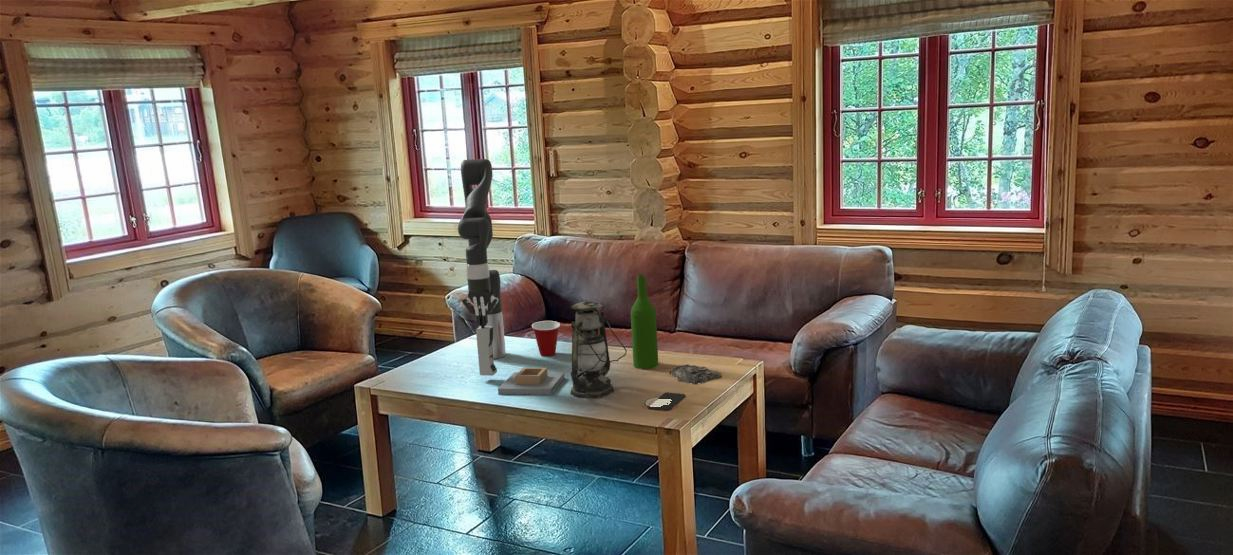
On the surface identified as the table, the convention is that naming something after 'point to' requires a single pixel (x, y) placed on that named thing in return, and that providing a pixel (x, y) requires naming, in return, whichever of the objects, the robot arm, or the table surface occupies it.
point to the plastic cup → (546, 336)
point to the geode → (694, 374)
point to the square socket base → (532, 382)
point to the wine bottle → (644, 329)
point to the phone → (675, 400)
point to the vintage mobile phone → (485, 349)
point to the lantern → (590, 352)
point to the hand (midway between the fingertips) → (482, 325)
